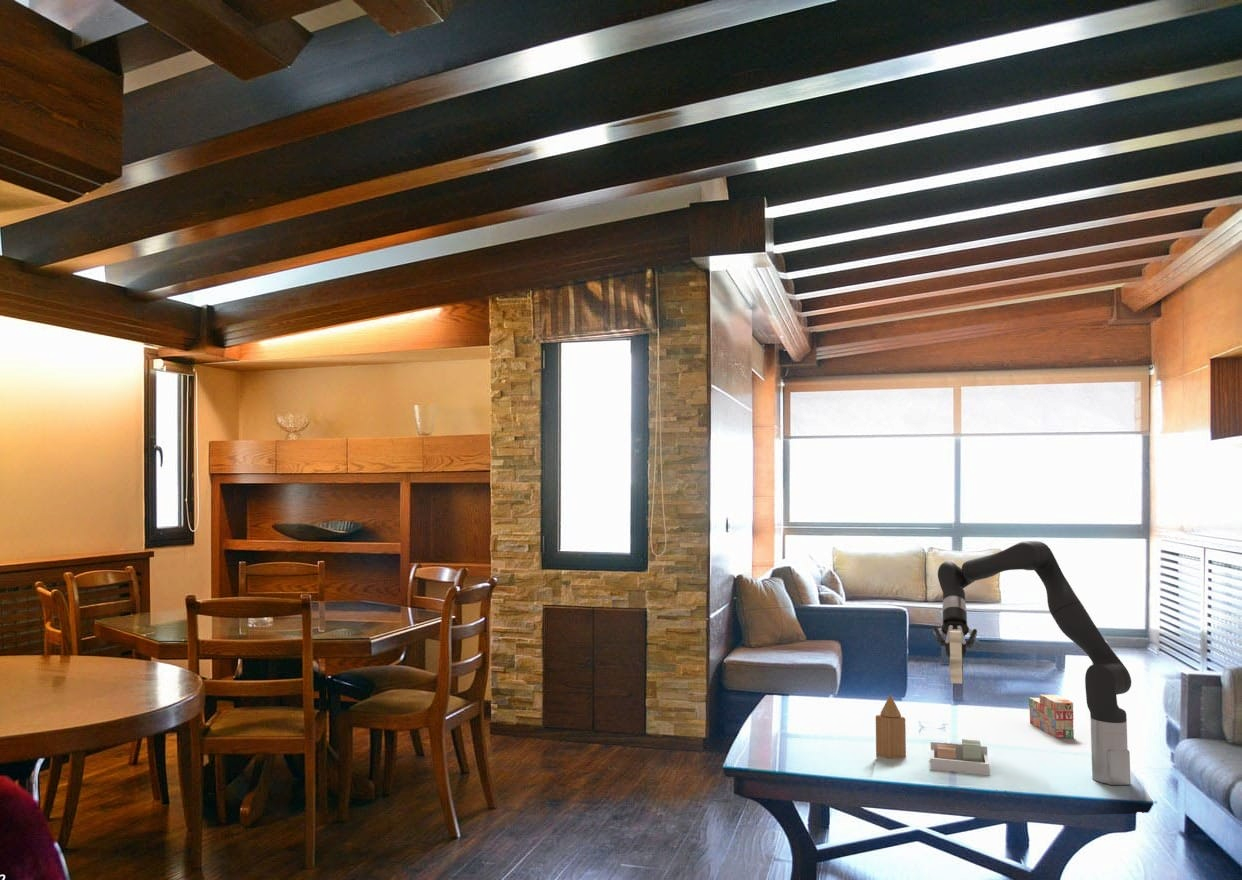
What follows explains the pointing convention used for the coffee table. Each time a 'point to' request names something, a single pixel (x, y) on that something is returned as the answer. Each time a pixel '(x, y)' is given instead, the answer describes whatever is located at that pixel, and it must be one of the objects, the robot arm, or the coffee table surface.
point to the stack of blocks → (1052, 715)
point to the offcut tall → (971, 750)
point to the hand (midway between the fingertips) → (955, 655)
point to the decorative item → (890, 731)
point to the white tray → (959, 760)
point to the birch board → (955, 656)
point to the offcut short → (946, 752)
